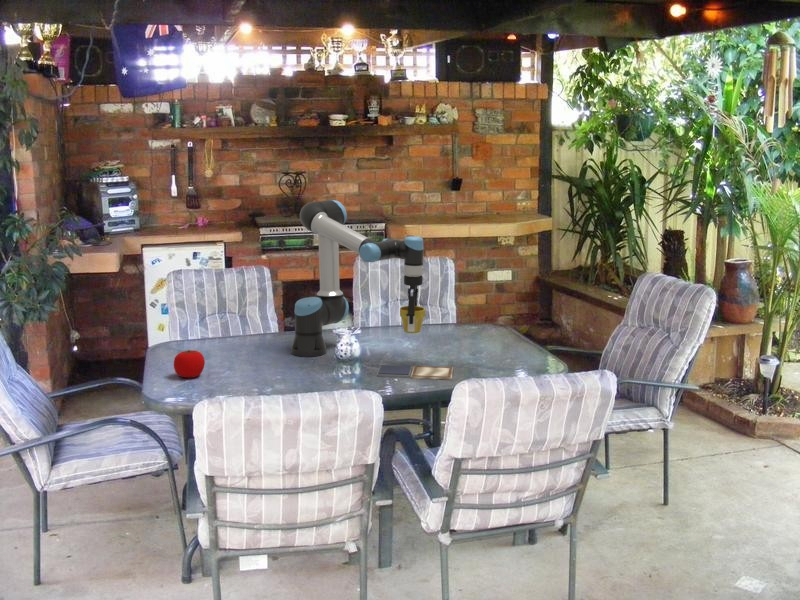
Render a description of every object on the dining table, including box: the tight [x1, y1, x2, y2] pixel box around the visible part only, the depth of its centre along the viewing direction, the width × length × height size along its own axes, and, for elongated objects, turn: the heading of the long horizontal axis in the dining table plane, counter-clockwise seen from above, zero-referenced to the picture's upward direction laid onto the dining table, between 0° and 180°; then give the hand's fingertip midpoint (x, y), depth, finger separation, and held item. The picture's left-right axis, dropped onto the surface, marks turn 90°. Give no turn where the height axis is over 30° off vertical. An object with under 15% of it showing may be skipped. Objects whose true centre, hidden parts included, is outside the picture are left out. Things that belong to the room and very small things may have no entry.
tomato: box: [173, 350, 206, 379], centre depth 354 cm, size 12×12×10 cm
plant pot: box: [399, 305, 426, 334], centre depth 371 cm, size 10×10×10 cm
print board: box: [410, 365, 454, 381], centre depth 361 cm, size 16×16×1 cm
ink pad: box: [376, 364, 413, 379], centre depth 363 cm, size 13×13×1 cm
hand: (412, 328), depth 372 cm, fingers closed on plant pot, 10 cm apart
